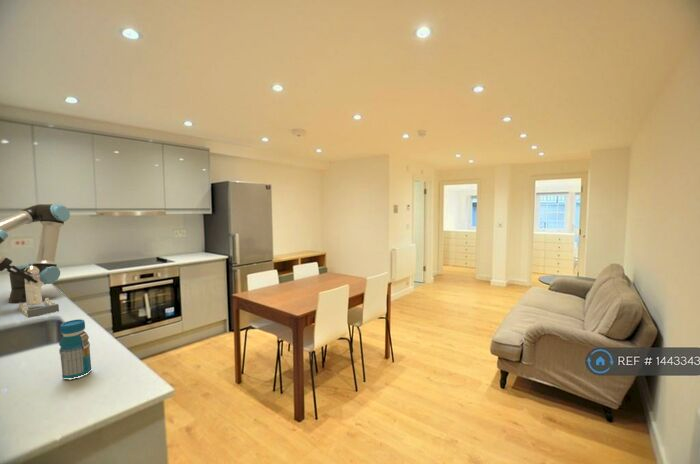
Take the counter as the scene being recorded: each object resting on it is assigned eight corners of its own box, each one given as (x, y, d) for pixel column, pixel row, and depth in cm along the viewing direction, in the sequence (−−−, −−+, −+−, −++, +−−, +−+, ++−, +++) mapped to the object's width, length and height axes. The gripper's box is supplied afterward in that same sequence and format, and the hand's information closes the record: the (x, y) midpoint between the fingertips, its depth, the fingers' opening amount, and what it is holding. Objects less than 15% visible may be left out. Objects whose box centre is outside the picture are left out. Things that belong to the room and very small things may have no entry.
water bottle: (32, 306, 189) (28, 264, 187) (23, 305, 190) (19, 264, 188) (45, 302, 196) (41, 262, 193) (36, 301, 197) (33, 262, 195)
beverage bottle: (67, 383, 111) (61, 328, 109) (58, 377, 115) (53, 324, 113) (96, 372, 118) (91, 320, 116) (86, 366, 122) (82, 316, 121)
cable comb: (18, 308, 192) (17, 302, 192) (47, 303, 203) (46, 297, 202) (28, 317, 177) (27, 310, 176) (59, 311, 187) (58, 304, 187)
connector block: (27, 316, 178) (26, 310, 178) (58, 310, 188) (57, 303, 188) (28, 317, 177) (27, 310, 176) (59, 311, 187) (58, 304, 187)
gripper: (-11, 265, 184) (31, 287, 199) (-5, 269, 173) (39, 292, 187) (2, 255, 188) (42, 277, 202) (8, 258, 176) (50, 281, 191)
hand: (40, 284), depth 195 cm, fingers closed on water bottle, 7 cm apart
